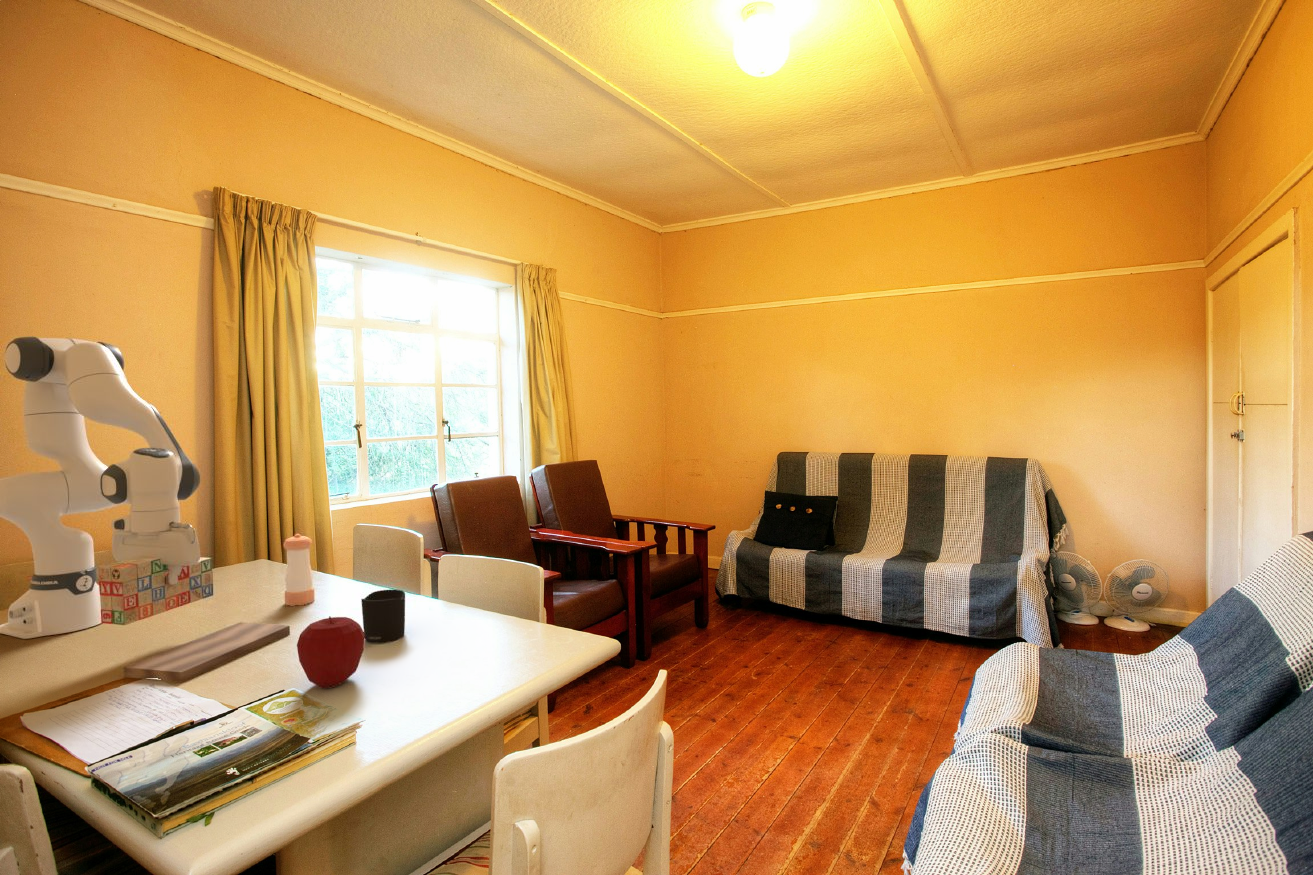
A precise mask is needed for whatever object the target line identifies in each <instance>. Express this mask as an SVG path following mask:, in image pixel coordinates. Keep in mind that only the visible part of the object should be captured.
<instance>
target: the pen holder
mask: <svg viewBox="0 0 1313 875" xmlns="http://www.w3.org/2000/svg"><path fill="white" fill-rule="evenodd" d="M361 613H362V624H363V626H362V627H363V632H364V634H365V638H364V641H366V642H368V643H370V644H386V643H390V642H395V641H397V640H400V639H402V637H403V636H404V635H405V633H406V632H405V629H406V623H405V622H406V593H405V591H404V590H402V589H382V590H377V591H376V590H375V591H373V592H371V593H369V594H368V595H367V596H366V597H365V598H361Z"/></svg>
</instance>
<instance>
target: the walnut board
mask: <svg viewBox="0 0 1313 875" xmlns="http://www.w3.org/2000/svg"><path fill="white" fill-rule="evenodd" d="M290 627H291V626H290V625H284V624H283V625H282V624H272V623H269V624H268V623H257V622H256V623H255V622H254V623H253V622H242V621H241V622H237V623H234V624H232V625H230V626H227V627H224V628H221V629H219V630H217V631H214V632H211V633H209V634H206V635H204V636H201V637H199V638H196V639H192V640H191V641H188V642H186V643H183V644H180V645H177V646H175V647H173V648H170V649H168V650H165V651H162V652H160V653H156V654H155V655H152V656H150V657H146V658H144V659H142V660H139V661H136V662H134V663H131V664H128V665H126V666H124V667H123V677H124V678H130V679H140V678H141V679H143V680H147V679H146V678H158V679H161V680H160V681H162V680H163V681H165V682H173V683H174V682H175V683H183V682H186V681H188V680H190V679H192V678H194V677H197V676H199V675H202V674H203V673H205V672H208V671H211V670H212V669H214V668H217V667H219V666H222V665H224V664H226V663H228V662H231V661H233V660H234V659H237V658H239V657H242V656H244V655H246V654H248V653H250V652H252V651H254V650H257V649H259V648H262V647H263V646H266V645H268V644H270V643H272V642H275V641H277V640H280V639H282V638H284V637H286V636H288V635H290V634H291V628H290Z"/></svg>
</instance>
